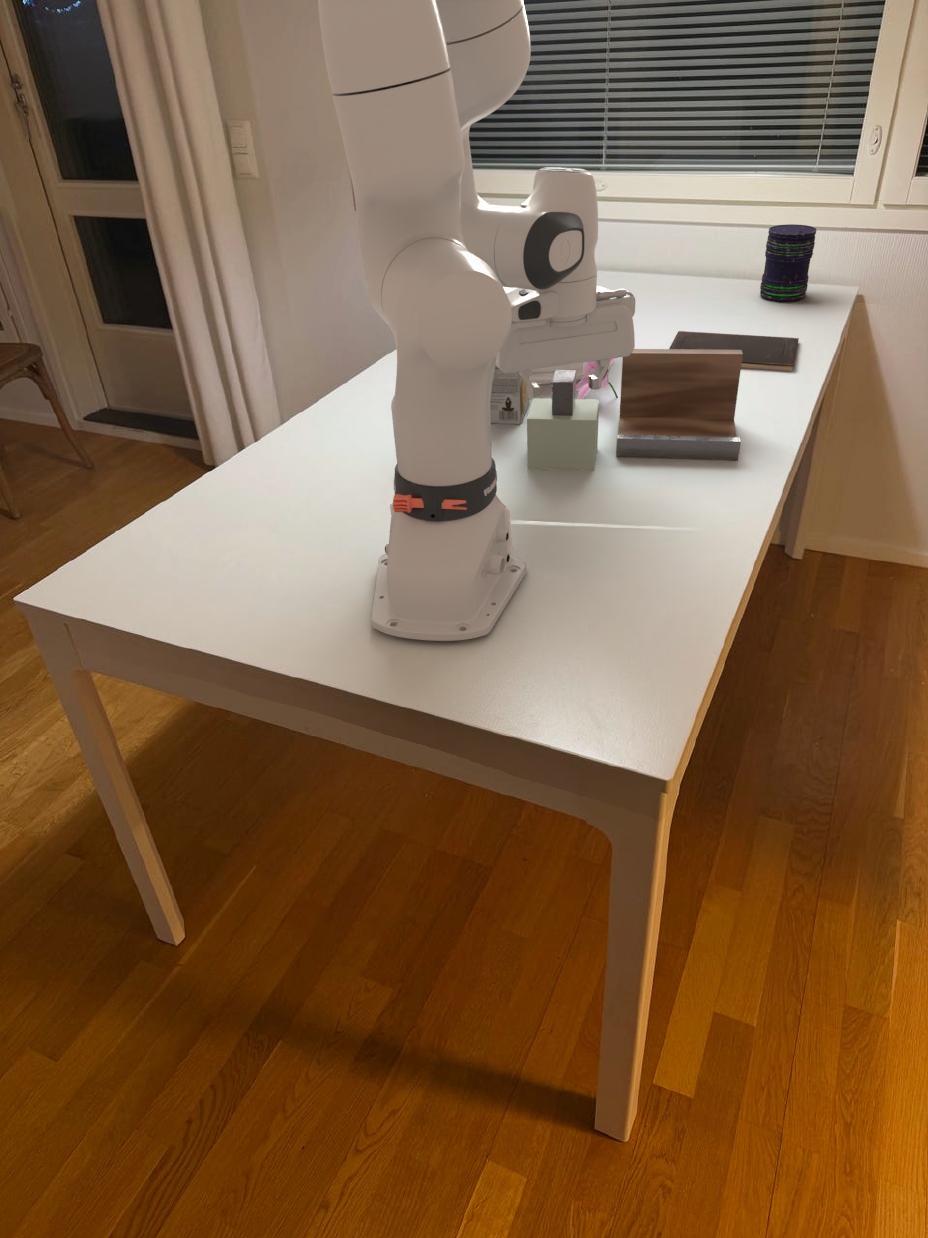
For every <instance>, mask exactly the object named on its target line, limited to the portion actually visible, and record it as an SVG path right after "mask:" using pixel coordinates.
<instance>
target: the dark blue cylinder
mask: <svg viewBox="0 0 928 1238" xmlns="http://www.w3.org/2000/svg"><path fill="white" fill-rule="evenodd" d="M816 234H817V228H816V227H814V226H811V225H806V224H790V223H789V224H778V225H773V226H770V227H769V228H768V236H767V241H766V245H765V252H764V253H765V254H764V256H765V263H764V269H763V270H764V271H763V274H762V275H761V276H762V277H761V282H760V288H759V291H760V292H759V295H760V298H761V299H763V300H764V301H768V302H771V303H772V302H773V303H780V304H781V303H786V304H787V303H795V302H800V301H803V300H804V298H805V296H806V294H807V290H808V286H809V285H808V282H809V270H810V263H811V259H812V257H813V255H814V249H815V244H816V242H815V240H816Z"/></svg>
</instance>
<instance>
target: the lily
mask: <svg viewBox="0 0 928 1238" xmlns="http://www.w3.org/2000/svg"><path fill="white" fill-rule="evenodd" d="M617 359H618V358H612V359H610V365H611V364H612V363H613V362H614V361H615V362H616V360H617ZM615 362H614V363H615ZM614 363H613V364H614ZM598 365H599V364H598V363H597V362H596V361H590V362H583V373H584V375H585V377H584V378H583V379H580V381H579V382H578V383H576V389H575V392H577V391H578V393H577V395H576V399H585V397H586V395H587V394H589V392H590V391H592V390H591V388H589V385H588V383H589V375H594V373H595V371H596V369H597V367H598ZM610 367H611V366H609V368H610ZM609 368H608V370H607V371H606V373H605V375H604V376H603V378H602V388H601V389H600V390H606V389H607V386H608V385H609V386H610V388H611V389H612V392H613V394H614V396H615V397H616V398H617V399H618V398H619V397H618V394H617V392H616V390H615V388H614V386H613V385H612V384H611V382H610V381H609V370H610V369H609Z"/></svg>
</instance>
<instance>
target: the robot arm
mask: <svg viewBox="0 0 928 1238" xmlns="http://www.w3.org/2000/svg"><path fill="white" fill-rule="evenodd" d="M317 5H318V6H317V7H318V17H319V18H318V19H319V27H320V35H321V43H322V49H323V55H324V60H325V61H324V62H325V67H326V72H327V78H328V82H329V87H330V92H331V93H332V94H331V96H332V99H333V104H334V108H335V113H336V117H337V121H338V125H339V127H338V128H339V130H340V134H341V139H342V143H343V148H344V153H345V157H346V160H347V166H348V170H349V174H350V178H351V184H352V189H353V195H354V202H355V209H356V221H357V229H358V237H359V243H360V251H361V256H362V264H363V269H364V275H365V283H366V288H367V291H368V296H369V300H370V302H371V304H372V306H373V308H374V310H375V311H376V313H377V315H379V317H380V318H381V319H382V320H383V321H384V322H385V324H387V325H388V326H389V328H390V329H391V332H392V335H393V338H394V342H395V349H396V376H395V377H396V378H395V389H394V390H395V391H394V395H393V397H392V399H391V405H390V409H391V416H392V425H393V427H392V428H393V429H392V430H393V438H394V445H395V446H394V448H395V456H396V465H395V467H394V478H393V492H394V495H393V497H392V498H393V500H392V503H391V504H389V509H390V515H391V517H390V526H389V535H388V537H389V538H388V543H386V544H385V546H384V554H381V555H380V556H379V557H378V565H377V569H376V570H377V571H376V578H375V579H376V580H375V585H374V586H375V587H374V596H373V602H372V610H371V620H370V621H371V627H372V628H373V629H376V630H377V631H378V632H381V633H384V634H386V635H390V636H394V637H398V638H404V639H411V640H420V641H421V640H422V641H434V642H435V641H439V642H445V641H446V642H449V641H450V642H451V641H452V642H453V641H465V640H471V639H476V638H480V637H483V636H486V635H488V634H489V633H490V632H491V631H492V629H493V628H494V626H495V624H496V622H497V621H498V619H499V618H500V616H501V614H502V613H503V612H504V610H505V608H506V607H507V605H508V603H509V601H511V598H512V597H513V595H514V594H515V592H516V590H517V588H518V587H519V586H520V584H521V582H522V580H523V579H524V577H525V576H526V573H527V572H528V571H527V569H528V568H527V564H526V562H525V561H524V560H523V559H521V558H518V557H516V556H514V553H513V537H512V523H511V513H510V512H511V511H510V509H509V508H508V507H507V506H506V505H505V504H504V503H503V502H502V500H500V498H499V497H498V495H497V490H498V489H497V488H498V486H497V482H498V472H497V469H496V468H497V466H496V461H495V459H494V458H493V457H492V454H493V453H492V429H491V428H492V426H491V425H492V423H491V420H490V399H491V390H492V383H493V377H494V371H495V366H497V367H498V368H499V369H500V370H501V371H502V372H503V373H511V372H518V371H519V374H520V376H521V377H522V379H523V380H524V382H525V383H526V385H527V396H528V398H529V400H531V399H532V400H533V398H538V399H539V398H540V397H541V395H540V386H539V384H537V383H531V381H530V380H529V378H528V377H531V376H532V369H540V368H547V367H554V366H561V365H569V364H576V363H583V362H590V361H596V362H597V363H598V364H599V365H598V367H597V369H596V371H595V373H594V375H589V383H588V385H589V388H591V390H590V391H594V390H595V391H596V390H602V389H601V388H602V378H603V376H604V375H605V373H606V371H607V370H608V368H610V367H611V366H610V359H612V358H617V359H618V358H623V357H627V356H629V355H630V354H631V353H632V351H633V350H634V349H635V343H636V341H635V326H634V318H633V317H634V316H635V313H636V297H635V296H634V294H633V293H632V292H630V291H628V290H627V289H626V288H618V289H614V290H611V291H600V292H597V286H598V268H597V263H596V259H595V258H596V257H595V252H596V247H597V243H598V240H599V210H598V209H599V208H598V194H597V187H596V181H595V177H594V176H593V174H592V173H591V172H589V170H586V169H584V168H578V167H577V168H574V167H558V166H557V167H556V166H544V167H541V168H539V169H537V170H536V172H535V175H534V179H533V186H532V187H533V188H532V191H531V192H530V194H529V195H528V196H527V198H526V199H525V200H524V201H522V202H521V203H520V204H519V205H516V206H515V205H508V204H507V205H505V204H492V203H489V202H488V201H486V200H484V199H482V197H480V195H479V194H478V192H477V190H476V184H475V177H474V170H473V161H472V155H471V154H472V152H471V146H470V137H469V136H470V128H471V125H473V124H475V123H476V122H479V121H480V120H482V119H484V118H486V117H488V116H489V115H491V114H492V113H494V112H495V111H497V110H498V109H499V108H501V107H502V106H503V105H505V104H506V102H508V101H509V100H510V99H511V98H512V97H513V95H514V94H515V93H516V92H517V91H518V89H520V86H521V85H522V84H523V81H524V79H525V77H526V75H527V71H528V69H529V65H530V62H531V45H532V44H531V34H530V33H531V32H530V27H529V22H528V17H527V13H526V7H525V3H524V0H317ZM503 287H509V288H517V289H515V290H513V291H510V292H508V293H506V292H505V290H504V288H503ZM609 366H610V367H609ZM608 371H609V370H608Z"/></svg>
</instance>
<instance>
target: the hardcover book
mask: <svg viewBox="0 0 928 1238" xmlns="http://www.w3.org/2000/svg"><path fill="white" fill-rule="evenodd" d="M799 340H800V339H799V337H787V336H786V337H785V336H772V335H771V336H767V335H752V334H751V335H750V334H737V333H736V334H734V333H720V332H719V333H718V332H702V331H701V332H700V331H684V330H682V331H681V330H678V331H677V333H676V335H675V337H674V339H673V341H672V342H671V345H670V346H669V348H668V349H702V350H742V353H743V356H742V363H741V368H743V369H744V368H745V369H760V370H774V371H789V372H791V371H793V368H794V366H795V363H796V357H797V351H798V345H799Z"/></svg>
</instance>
